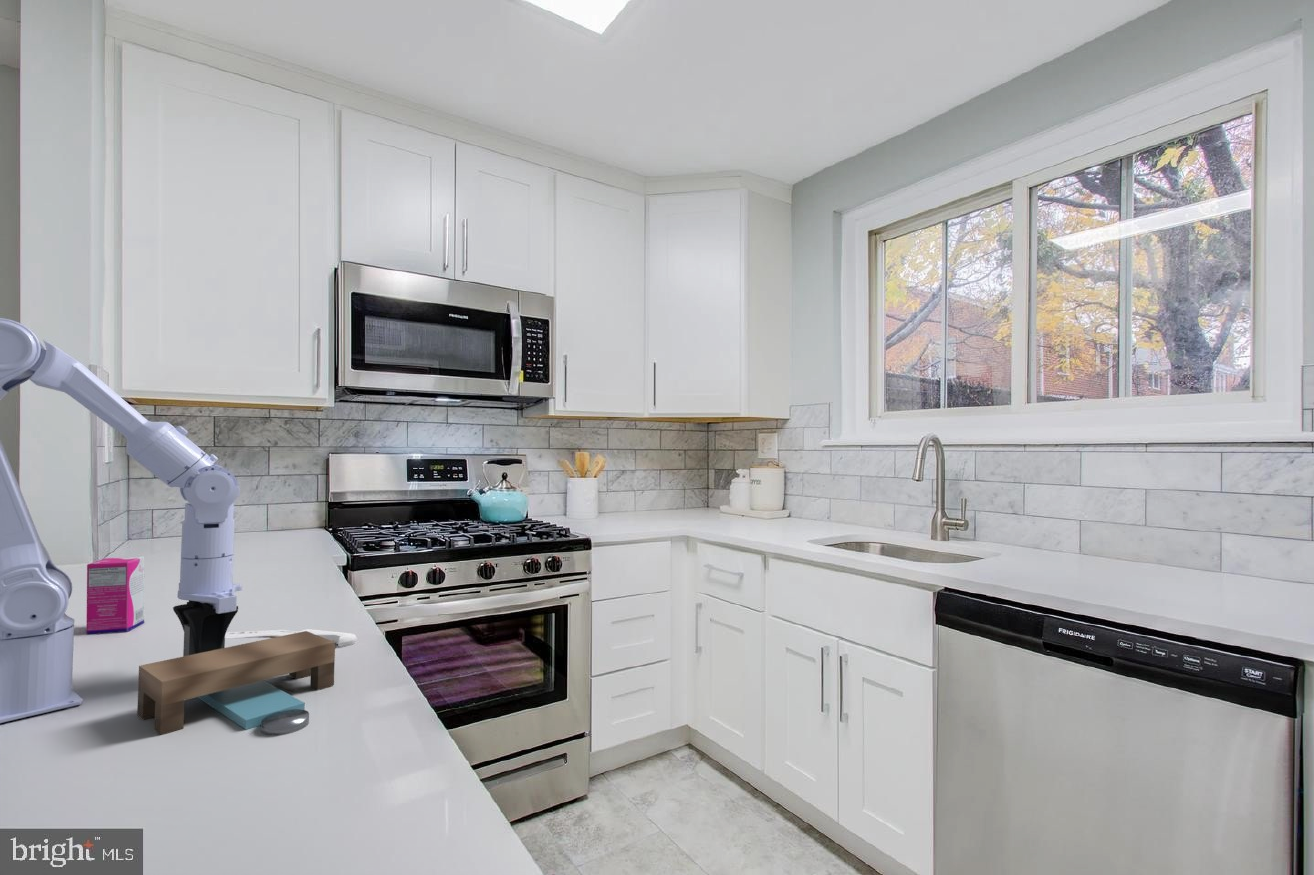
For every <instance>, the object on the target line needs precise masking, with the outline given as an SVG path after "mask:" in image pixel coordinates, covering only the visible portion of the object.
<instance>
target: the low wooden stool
mask: <svg viewBox="0 0 1314 875" xmlns="http://www.w3.org/2000/svg"><path fill="white" fill-rule="evenodd" d="M298 632H299V631H298ZM335 658H336V644H335V642H333V641H331V640H328V639H326V638H323V637H320V636H318V635H315V634H313V633H310V632H307V631H303V632H299V633H294V634H289V635H284V636H279V637H270V638H266V639H261V640H256V641H250V642H247V643H241V644H238V645H232V646H228V647H225V648H222V649H217V650H212V651H207V652H203V653H198V654H193V655H188V656H183V655H182V656H180V657H179V656H178V657H175V658H170V659H166V660H160V661H155V662H151V663H146V664H141V665H138V682H137V683H138V684H137V685H138V686H137V711H136V713H137V714H136V715H137V716H138V717H139V719H141V720H143V721H144V720H146V719H147V720H148V719H150V718H154V722H153V723H154V726H153V729H154V731H155V732H156V733H158V735H165V734H167V733H168V734H169V733H172V732H176V731H179V730H182V729H184V725H185V723H184V722H185V721H184V720H185V701H186V700H191V699H194V698H198V697H199V696H203V695H207V694H211V693H214V692H218V691H222V690H226V689H230V688H234V687H238V686H242V685H246V684H250V683H254V682H258V681H261V680H263V681H265V680H268V679H272V678H276V677H280V676H284V675H288V676H289V677H291V678H293V679H294V680H299V679H302V678H305V677H309V676H310V681H309V682H310V685H309V686H310V687H311V688H313V689H314V690H317V689H320V690H323V689H326V687H327V688H329V687H330V688H331V687H333V685H334V686H335V664H336V663H335V660H336V659H335ZM298 678H299V679H298Z"/></svg>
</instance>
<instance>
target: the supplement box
mask: <svg viewBox="0 0 1314 875" xmlns="http://www.w3.org/2000/svg"><path fill="white" fill-rule="evenodd" d="M145 559H146V557H145V556H142V555H141V556H129V557H127V556H126V557H107V558H102V559H100V560H97V561H94V562H90V563H87V564H86V626H85V627H86V629H85V630H86V631H85V632H86V633H85V634H87V635H94V634H95V635H97V634H99V635H100V634H110V633H112V634H113V633H115V634H116V633H128V632H130V631H132V630H134V629H135V628H137V627H139V626H141V625H143V624H144V623H145Z"/></svg>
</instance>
